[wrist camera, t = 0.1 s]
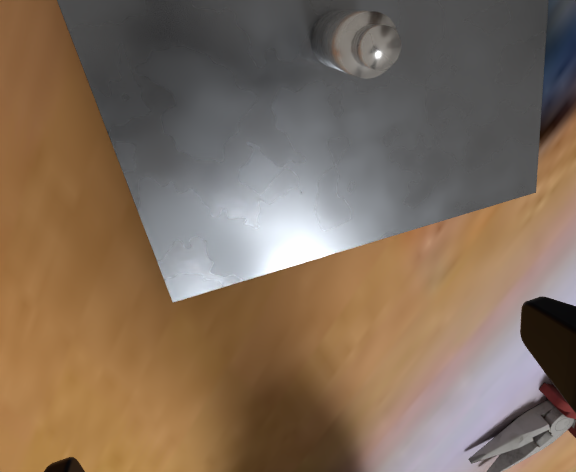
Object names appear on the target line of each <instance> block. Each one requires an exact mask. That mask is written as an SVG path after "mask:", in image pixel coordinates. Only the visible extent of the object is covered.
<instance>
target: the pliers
mask: <svg viewBox="0 0 576 472" xmlns="http://www.w3.org/2000/svg"><path fill="white" fill-rule="evenodd" d="M539 390H540V391H541V392H542V393H543V394H544V395H545V396H546V398H547V399H548V400H547V401H545V402H543V403H541V404H540V405H538V406H536V407H534V408H533V409H531V410H529V411H527V412H526V413H524V414H523V415H521V416H520V417H519V418H517V419H516V420H515V421H513V422H512V423H511V424H510V425H509V426H507V427H506V428H505V429H504V430H503V431H502V432H500V433H499V434H498V435H497V436H496V437H494V438H493V439H492V440H491V441H490V442H488V443H487V444H486V445H485V446H484V447H482V448H481V449H480V450H479V451H478V452H476V453H475V454H474V455H473V456H472V457H470V458H469V461H470V462H471V464H472V463H475V462H478V461H481V460H484V459H487V458H490V457H493V456H496V455H499V454H500V455H499V457H498V458H497V459H496V460H495V462H494V463H493V464H492V465H491V467H490V468H489V469H488V470H487V472H502V471H504V470H506V469H508V468H510V467H511V466H513V465H515V464H517V463H519V462H521V461H522V460H524V459H526V458H528V457H530V456H531V455H533V454H535V453H537V452H539V451H540V450H542V449H544V448H545V447H547V446H548V445H550V444H551V443H553V442H554V441H555V440H556V439H557V438H559V437H560V436H561V435H562V434H563V433H564V432H566V431H567V430H569V431H570V433H571V434H572V435H573V436H574V437H575V438H576V413H575V412H574V410H573V409H572V408H571V407H570V406H569V404H568V403H567V402H566V400H565V399H564V398H563V396H562V395H561V394H560V392H559V391H558V390H557V388H556V387H555V386H554V385H551V384H547V383H543V385H542V386H541V387H540V389H539Z"/></svg>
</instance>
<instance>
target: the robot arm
mask: <svg viewBox="0 0 576 472" xmlns="http://www.w3.org/2000/svg"><path fill="white" fill-rule="evenodd" d="M520 333H521V338H522V341H523V343H524V344H525V346H526V347H527V349H528V350H529V351H530V353H531V354H532V355H533V357H534V358H535V360H536V361H537V362H538V364H539V365H540V366H541V368H542V369H543V370H544V372H545V373H546V375H547V376H548V377H549V379H550V380H551V381H552V383H553V384H554V386H555V387H556V388H557V390H558V391H559V392H560V394H561V395H562V396H563V398H564V399H565V400H566V402H567V403H568V404H569V406H570V407H571V408H572V409H573V410H574V412H575V413H576V306H573V305H570V304H567V303H563V302H560V301H557V300H554V299H551V298H547V297H538V298H535V299H532V300H529V301H526V302H525V303H524V304H523V306H522V312H521V329H520ZM44 472H85V471H84V470H83V468H82V467H81V465H80V463H79V462H78V461H77V459H75V458H74V457H69V458H66V459H63V460H60V461H57V462H54V463H52V464H50V465H49V466H48V467H47V468H46V469H45V471H44Z"/></svg>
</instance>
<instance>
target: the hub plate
mask: <svg viewBox="0 0 576 472" xmlns="http://www.w3.org/2000/svg"><path fill="white" fill-rule="evenodd" d="M57 1H58V4H59V7H60V9H61V12H62V14H63V17H64V20H65V22H66V25H67V27H68V30H69V33H70V35H71V38H72V41H73V43H74V46H75V48H76V51H77V54H78V56H79V59H80V61H81V64H82V67H83V69H84V72H85V74H86V77H87V80H88V82H89V85H90V87H91V90H92V93H93V95H94V98H95V101H96V103H97V106H98V108H99V111H100V114H101V116H102V119H103V121H104V124H105V127H106V129H107V132H108V134H109V137H110V140H111V142H112V145H113V147H114V150H115V153H116V155H117V158H118V161H119V163H120V166H121V168H122V171H123V174H124V176H125V179H126V181H127V184H128V187H129V189H130V192H131V194H132V197H133V200H134V202H135V205H136V207H137V210H138V213H139V215H140V218H141V221H142V223H143V226H144V228H145V231H146V234H147V236H148V239H149V241H150V244H151V247H152V249H153V252H154V254H155V257H156V260H157V262H158V265H159V268H160V270H161V273H162V275H163V278H164V281H165V283H166V286H167V288H168V291H169V294H170V296H171V299H172V301H173V302H176V301H179V300H183V299H186V298H189V297H192V296H196V295H199V294H202V293H206V292H209V291H212V290H216V289H219V288H222V287H225V286H229V285H232V284H235V283H239V282H242V281H245V280H249V279H252V278H255V277H258V276H262V275H265V274H268V273H272V272H275V271H278V270H282V269H285V268H288V267H291V266H295V265H298V264H301V263H305V262H308V261H311V260H315V259H318V258H321V257H324V256H328V255H331V254H334V253H338V252H341V251H344V250H348V249H351V248H354V247H357V246H361V245H364V244H367V243H371V242H374V241H377V240H381V239H384V238H387V237H390V236H394V235H397V234H400V233H404V232H407V231H410V230H414V229H417V228H420V227H423V226H427V225H430V224H433V223H437V222H440V221H443V220H446V219H450V218H453V217H456V216H460V215H463V214H466V213H470V212H473V211H476V210H479V209H483V208H486V207H489V206H493V205H496V204H499V203H503V202H506V201H509V200H512V199H516V198H519V197H522V196H526V195H529V194H532V193H536V182H537V167H538V152H539V136H540V121H541V105H542V90H543V75H544V59H545V44H546V29H547V13H548V0H57Z"/></svg>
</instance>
